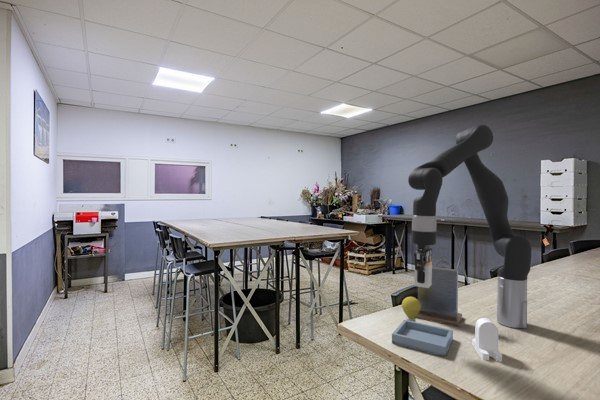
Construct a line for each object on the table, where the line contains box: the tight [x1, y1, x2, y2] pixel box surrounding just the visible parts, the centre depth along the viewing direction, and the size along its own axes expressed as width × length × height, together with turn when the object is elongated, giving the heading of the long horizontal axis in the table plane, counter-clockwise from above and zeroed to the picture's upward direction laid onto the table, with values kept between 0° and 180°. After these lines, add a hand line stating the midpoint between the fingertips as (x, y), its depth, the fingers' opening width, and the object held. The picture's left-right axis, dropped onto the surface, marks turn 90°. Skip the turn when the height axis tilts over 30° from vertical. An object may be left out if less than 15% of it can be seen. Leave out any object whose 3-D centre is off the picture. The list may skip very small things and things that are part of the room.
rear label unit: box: [415, 266, 463, 327], centre depth 126 cm, size 16×10×20 cm, turn 56°
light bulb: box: [401, 296, 421, 322], centre depth 120 cm, size 7×7×10 cm
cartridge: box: [413, 260, 433, 288], centre depth 106 cm, size 4×4×8 cm
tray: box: [391, 319, 454, 358], centre depth 106 cm, size 16×14×3 cm
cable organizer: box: [471, 317, 503, 362], centre depth 98 cm, size 5×10×10 cm, turn 169°
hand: (422, 280), depth 106 cm, fingers closed on cartridge, 4 cm apart
